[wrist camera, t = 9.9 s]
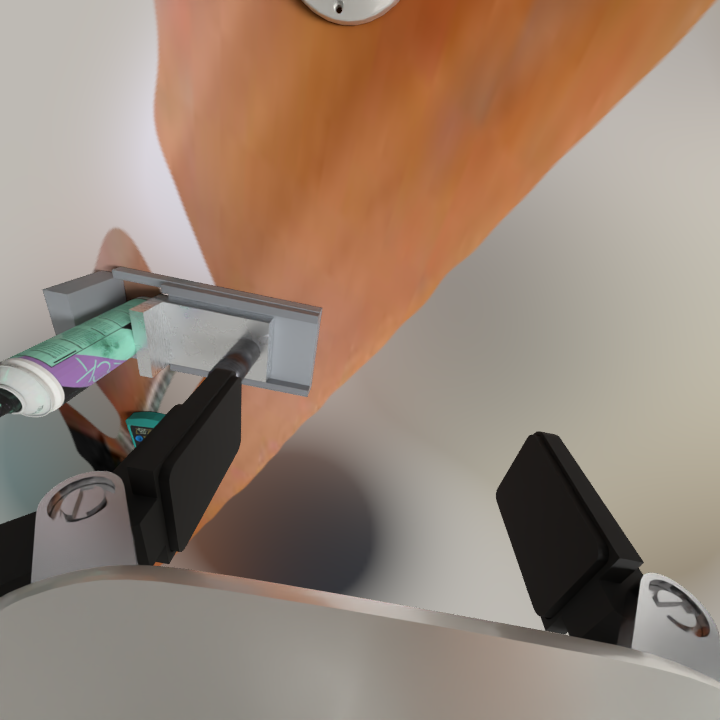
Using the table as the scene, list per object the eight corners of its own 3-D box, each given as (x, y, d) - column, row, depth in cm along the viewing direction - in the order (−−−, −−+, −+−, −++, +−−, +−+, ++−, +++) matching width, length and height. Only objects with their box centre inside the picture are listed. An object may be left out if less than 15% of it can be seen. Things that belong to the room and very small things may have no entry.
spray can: (128, 327, 44) (-40, 424, 27) (129, 290, 41) (-59, 370, 24) (169, 340, 45) (30, 445, 27) (172, 305, 42) (20, 394, 25)
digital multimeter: (179, 412, 51) (168, 425, 49) (194, 478, 59) (185, 492, 56) (133, 407, 52) (120, 419, 49) (153, 473, 59) (143, 486, 56)
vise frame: (100, 262, 40) (39, 280, 33) (322, 307, 41) (309, 334, 34) (117, 348, 46) (68, 378, 39) (311, 386, 47) (298, 423, 40)
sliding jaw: (160, 293, 40) (104, 322, 32) (274, 317, 40) (247, 350, 32) (166, 353, 44) (118, 392, 36) (270, 374, 44) (245, 416, 36)
